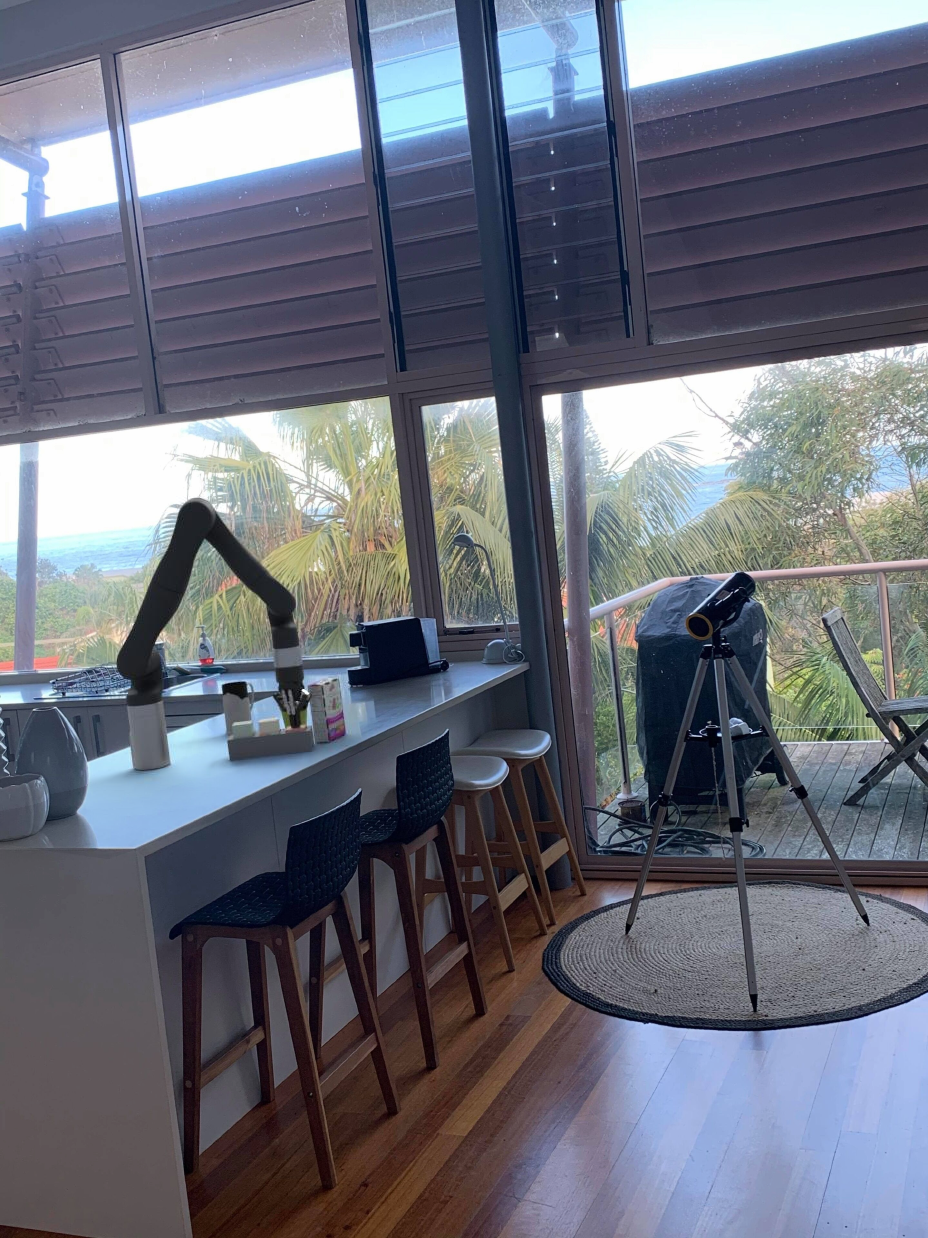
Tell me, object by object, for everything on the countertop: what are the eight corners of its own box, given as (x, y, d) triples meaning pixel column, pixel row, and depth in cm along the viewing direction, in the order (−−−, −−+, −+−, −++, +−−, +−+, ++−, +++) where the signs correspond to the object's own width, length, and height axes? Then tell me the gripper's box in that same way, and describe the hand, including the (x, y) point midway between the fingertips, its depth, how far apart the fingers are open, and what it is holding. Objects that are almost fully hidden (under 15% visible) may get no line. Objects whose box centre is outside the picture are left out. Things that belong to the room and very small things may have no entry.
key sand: (260, 741, 305) (258, 722, 304) (262, 737, 310) (260, 719, 309) (279, 738, 305) (277, 720, 305) (280, 735, 310) (278, 717, 309)
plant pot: (315, 726, 342) (312, 698, 341) (308, 733, 333) (305, 703, 332) (285, 729, 343) (281, 701, 342) (277, 735, 334) (273, 706, 333)
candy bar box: (330, 734, 326) (324, 678, 324) (346, 734, 324) (340, 677, 323) (313, 743, 315) (306, 684, 314) (329, 742, 314) (323, 683, 312)
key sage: (234, 744, 304) (231, 725, 304) (236, 740, 309) (234, 722, 309) (253, 742, 304) (250, 723, 304) (254, 738, 309) (252, 720, 309)
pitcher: (219, 735, 344) (213, 686, 343) (245, 726, 358) (239, 678, 356) (244, 734, 341) (238, 685, 340) (269, 725, 354) (263, 677, 353)
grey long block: (229, 760, 303) (226, 738, 302) (233, 754, 311) (230, 733, 310) (312, 750, 304) (310, 729, 304) (314, 745, 312) (311, 724, 312)
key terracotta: (288, 748, 305) (285, 730, 305) (289, 744, 310) (287, 726, 310) (306, 746, 306) (304, 727, 305) (307, 742, 311) (305, 724, 310)
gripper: (260, 666, 307) (268, 730, 308) (296, 666, 299) (304, 731, 301) (280, 662, 313) (288, 724, 314) (316, 661, 305) (323, 725, 307)
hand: (296, 727), depth 307 cm, fingers closed
